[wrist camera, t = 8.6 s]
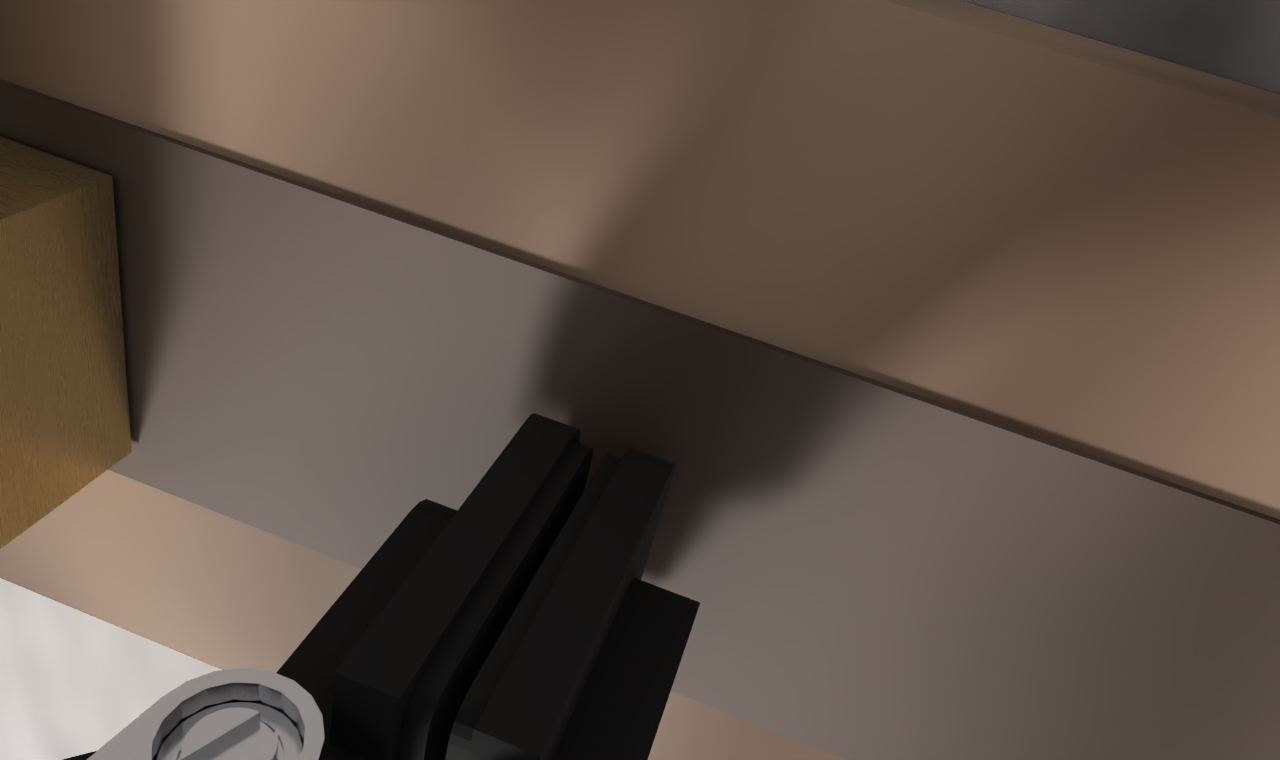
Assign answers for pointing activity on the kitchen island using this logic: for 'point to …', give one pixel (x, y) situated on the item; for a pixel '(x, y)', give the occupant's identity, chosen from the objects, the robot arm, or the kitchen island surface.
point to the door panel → (702, 344)
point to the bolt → (57, 334)
